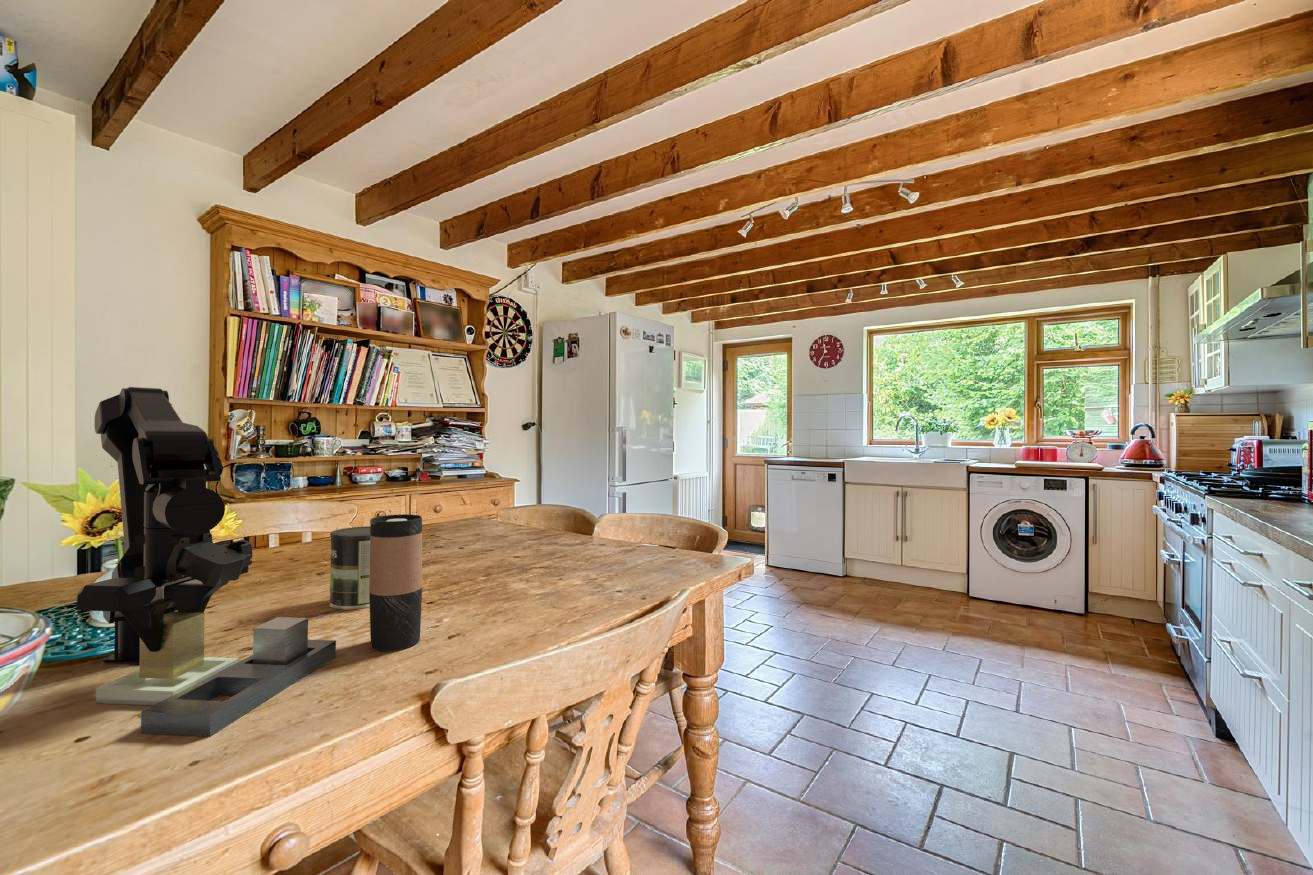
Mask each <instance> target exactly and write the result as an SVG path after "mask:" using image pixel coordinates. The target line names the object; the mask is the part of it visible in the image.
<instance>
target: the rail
mask: <svg viewBox="0 0 1313 875" xmlns="http://www.w3.org/2000/svg"><path fill="white" fill-rule="evenodd" d="M336 657H337V640H332V639H308V653H307V654H305V655H303V656H302V657H300V658H298V659H296V660H295V661H293V662H291V663H289V664H288V665H265V664H253V654H251V655H250V656H248V657H246V658H244V659H242V660H240V662H238V663H236V664H234V665H232V666H230V667H228V668H226V669H224V670H222V671H220V672H218V673H216V674H214V675H212V676H210V677H208V678H206V679H204V680H203V681H201V682H199V683H197V684H195V685H193V686H191V687H189V688H187V689H185V690H183V691H181V692H179V693H177V694H175V695H173V696H171V697H169V698H167V699H165V700H163V701H161V702H159V703H157V704H156V705H151V706H150V707H148V708H146V709H144V710H142V711H140V734H143V735H144V734H147V735H149V734H150V735H165V736H166V735H168V736H169V735H171V736H187V737H188V736H191V737H192V736H193V737H209V738H210V737H212V736H213V735H215V734H216V733H219V731H221V730H223V729H224V728H226V727H228V726H229V725H231V724H232V723H234V722H236V721H238V719H240V718H241V717H243V716H245V715H246V714H248V713H250V712H252V710H254V709H256V708H257V707H259V706H260V705H262V704H263V703H265V702H267V701H268V700H270V699H271V698H273V697H274V696H276V695H277V694H280V692H282V691H284V690H286V689H287V688H289V687H290V686H291V685H294V683H297V682H298V681H299V680H301V679H302V678H305V677H306V676H307V675H309V674H311V673H312V672H314V671H315V670H317V669H319V668H320V667H322V666H323V665H325V664H326V663H328V662H330V661H331V660H332V659H333V660H334V658H336ZM218 696H220V697H221V696H223V697H229V698H227V699H226V700H212V699H215V698H216V697H218Z"/></svg>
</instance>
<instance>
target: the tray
mask: <svg viewBox="0 0 1313 875" xmlns="http://www.w3.org/2000/svg"><path fill="white" fill-rule="evenodd" d="M240 661H241V660H240V658H239V657H217V656H216V657H213V656H212V657H211V656H210V657H208V656H204V665H202V666H200V667H197V668H195V669H193V670H191V671H189V672H187V673H185V674H183V675H181V676H179V677H177V678H174V679H157V678H139V669H137V670H135V671H133V672H131V673H128V674H126V675H123V676H122V677H119V678H117V679H114V680H112V681H110V682H107V683H105V684H103V685H100V686H98V687H96V688H95V703H96V704H108V705H110V704H111V705H112V704H113V705H132V706H133V705H134V706H135V705H137V706H154V705H156V704H157V703H159V702H161V701H163V700H165V699H167V698H169V697H171V696H173V695H175V694H177V693H179V692H181V691H183V690H185V689H187V688H189V687H191V686H193V685H195V684H197V683H199V682H201V681H203V680H204V679H206V678H208V677H210V676H212V675H214V674H216V673H218V672H220V671H222V670H224V669H226V668H228V667H230V666H232V665H234V664H236V663H238V662H240Z"/></svg>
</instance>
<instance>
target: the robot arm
mask: <svg viewBox="0 0 1313 875" xmlns="http://www.w3.org/2000/svg"><path fill="white" fill-rule="evenodd" d="M172 404H173V403H171V402H170V396H169V392H168V390H163V389H161V388H160V387H159V388H157V387H155V388H154V387H138V386H128V387H127V388H124V387H123V388H121V390H120V392H119V394H117V395H114V396H111V397H109V398H106V399H103V400H101V401H100V402H99V404H98V406H97V408H96V411H95V414H94V433H95V434H96V435H100V441H101V447H102V449H103V451H105V452H106V453H107V454H108V455H109V456H110V457H112V459H113V460H114V461H116V463H117V470H118V482H119V496H120V507H121V518H122V521H121V522H122V532H123V533H122V534H123V543H124V554H123V555H122V557H121V558H120V560H119V561H118V563H117V564H116V565H115V567H114V569H113V571H111V578H109V579H105V580H100V581H96V582H93V583H89V584H85V585H84V586H83V587H82V588H81V589H80V590H79V591H78V592H77V596H76V611H88V612H90V611H91V612H102V615H103V616H102V617H103V619H104V620H105V621H106V622H107V624H109V625H110V624H114V634H113V636H114V637H113V638H114V640H113V641H114V642H113V643H114V648H113V649H114V652H113V653H114V654H111V655H109V656H105V657H104V658H103V659H102V662H103V663H115V664H139V665H140V638H141V640H142V641H143V642H144V644H145V645H146V647H147V648H148V650H149V651H150V652H158V651H160V649H161V644H162V635H163V619H164V614H167V613H170V612H198V613H204V614H205V611H206V608H207V606H208V604H209V602H210V600H211V598H212V596H213V595H214V594H215V593H216V592H217V591H218V590H219V589H221V588H222V587H224V586H226V585H228V583H229V582H230V581H237V580H238V579H239V578H240V577H241V575H244V574H247V573H249V566H251V565H252V564H253V559H252V558H253V544H252V542H250V541H249V540H246V539H240V540H239V539H238V540H236V541H232V542H231V543H230V544H226V543H224V544H220V545H219V544H217V543H214V541H213V534H212V533H211V531H212V530H213V529H214V528H215V527H217V526H218V525H219V524H220V522H221V521H222V520H223V518H224V516H225V512H226V504H225V503H224V500H223V498H222V497H221V496H220V494H219V493H217V492H216V491H214V490H213V489H211V488H208V487H207V483H209V482H220V481H221V480H222V479H221V478H222V476H221V475H223V474H222V473H223V471H224V467H223V463H222V460H221V457H220V453H219V451H218V447H217V446H216V445H214V444H215V443H214V441H213V439H212V438H210V437H209V436H208V433H207V432H206V431H204V430H203V429H202V428H201V427H200V426H198V425H195V424H190V423H185V422H183V421H182V420H181V418H180V416H179V414H178V413H177V411H176V410H175V408H174V406H173V405H172Z"/></svg>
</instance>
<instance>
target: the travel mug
mask: <svg viewBox="0 0 1313 875" xmlns="http://www.w3.org/2000/svg"><path fill="white" fill-rule="evenodd" d="M369 523H370V524H369V526H370V578H369V592H370V593H369V601H370V607H369V629H370V630H369V631H370V633H369V634H370V647H371V649H373V650H374V651H378V652H394V651H401V650H404V649H408V648H411V647H413V646H416V645H417V644H419V642H420V640H421V639H420V638H421V623H422V622H421V620H422V600H423V598H422V597H423V517H422V516H421V515H418V514H403V513H402V514H387V515H379V516H375V517H372V518H371V519H370V521H369Z"/></svg>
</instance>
